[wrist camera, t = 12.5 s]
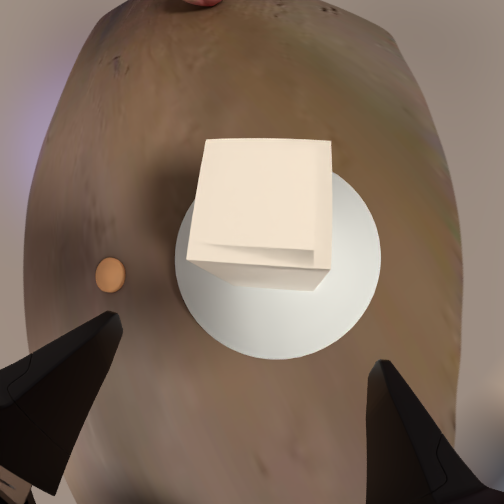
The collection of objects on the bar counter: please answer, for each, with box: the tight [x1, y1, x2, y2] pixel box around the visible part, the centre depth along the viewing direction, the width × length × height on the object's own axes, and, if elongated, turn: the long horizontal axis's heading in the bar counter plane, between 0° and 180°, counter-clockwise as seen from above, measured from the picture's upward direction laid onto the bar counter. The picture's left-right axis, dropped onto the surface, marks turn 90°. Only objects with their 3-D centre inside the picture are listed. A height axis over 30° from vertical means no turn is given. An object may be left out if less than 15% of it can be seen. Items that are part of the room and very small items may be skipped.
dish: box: [175, 172, 381, 359], centre depth 22 cm, size 16×16×2 cm
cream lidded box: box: [186, 138, 332, 292], centre depth 17 cm, size 6×6×10 cm
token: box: [96, 257, 126, 293], centre depth 24 cm, size 3×3×1 cm
